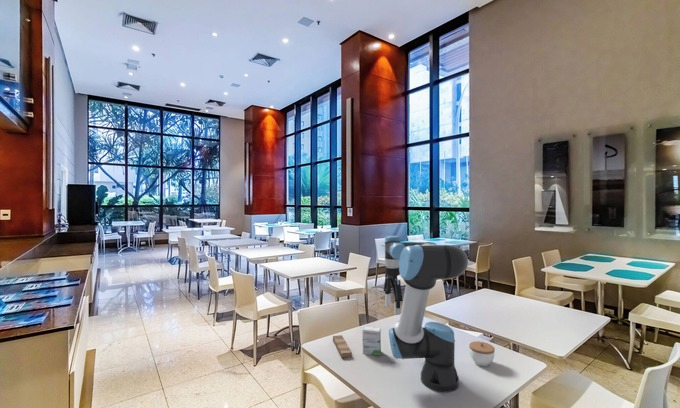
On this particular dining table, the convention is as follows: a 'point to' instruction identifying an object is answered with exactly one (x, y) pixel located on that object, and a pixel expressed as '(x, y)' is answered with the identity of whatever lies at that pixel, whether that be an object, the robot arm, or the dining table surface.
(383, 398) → the dining table surface
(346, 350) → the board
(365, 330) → the ink box
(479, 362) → the lidded jar
